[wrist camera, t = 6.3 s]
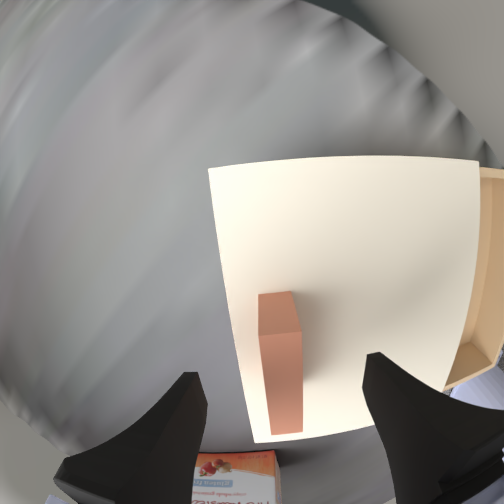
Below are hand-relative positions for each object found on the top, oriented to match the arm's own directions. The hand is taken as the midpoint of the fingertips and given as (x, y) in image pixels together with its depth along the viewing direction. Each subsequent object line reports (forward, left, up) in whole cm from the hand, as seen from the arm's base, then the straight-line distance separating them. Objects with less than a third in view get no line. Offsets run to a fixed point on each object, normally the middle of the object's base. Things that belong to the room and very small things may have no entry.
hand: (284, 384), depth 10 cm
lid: (0, -5, -3) cm, 6 cm away
